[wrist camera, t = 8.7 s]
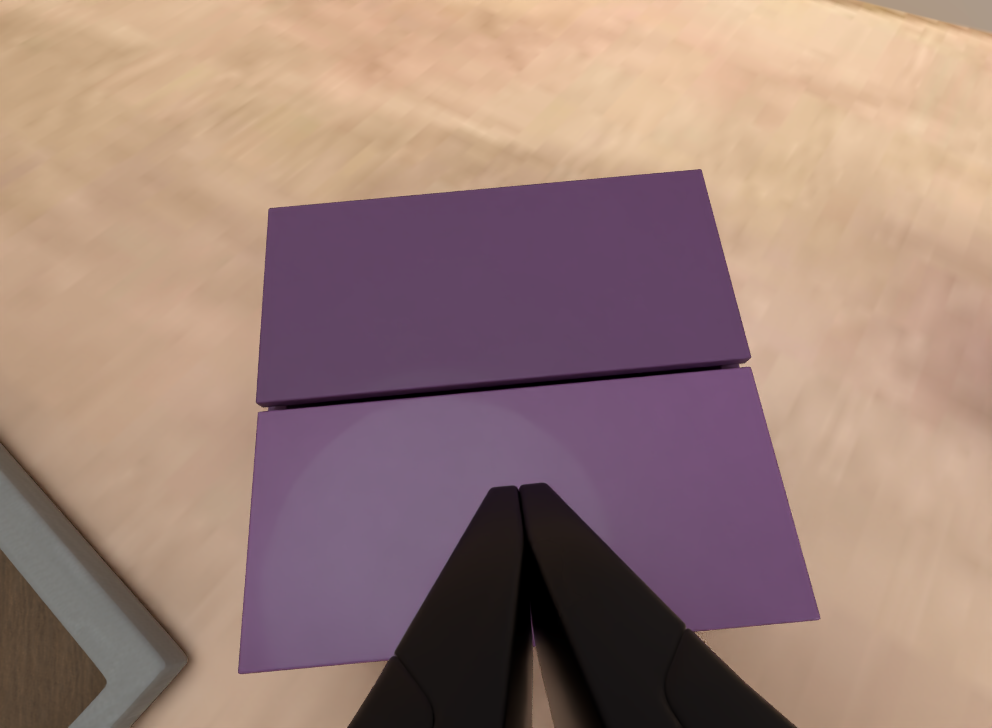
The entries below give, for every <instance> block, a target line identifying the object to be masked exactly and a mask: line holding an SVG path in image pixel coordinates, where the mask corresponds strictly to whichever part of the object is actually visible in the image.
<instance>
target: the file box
mask: <svg viewBox="0 0 992 728" xmlns="http://www.w3.org/2000/svg"><path fill="white" fill-rule="evenodd" d="M750 358H751V355H750V351H749V347H748V343H747V339H746V336H745V332H744V328H743V324H742V321H741V317H740V313H739V309H738V306H737V302H736V298H735V294H734V291H733V287H732V283H731V279H730V275H729V272H728V268H727V264H726V260H725V257H724V253H723V249H722V245H721V242H720V238H719V234H718V230H717V227H716V223H715V219H714V215H713V211H712V208H711V204H710V200H709V196H708V193H707V189H706V185H705V181H704V178H703V174H702V170H701V169H698V170H686V171H675V172H664V173H653V174H642V175H631V176H620V177H609V178H598V179H587V180H576V181H565V182H554V183H543V184H532V185H521V186H510V187H499V188H488V189H477V190H466V191H455V192H444V193H433V194H422V195H411V196H400V197H389V198H378V199H367V200H356V201H345V202H334V203H323V204H312V205H301V206H289V207H278V208H270V209H269V211H268V227H267V242H266V257H265V272H264V287H263V302H262V317H261V332H260V347H259V363H258V378H257V393H256V403H257V404H258V405H260V406H261V407H268V411H274V410H285V409H296V408H307V407H318V406H329V405H340V404H351V403H361V402H372V401H383V400H394V399H405V398H416V397H427V396H437V395H448V394H459V393H470V392H481V391H492V390H503V389H514V388H524V387H535V386H546V385H557V384H568V383H579V382H590V381H601V380H611V379H622V378H633V377H644V376H655V375H666V374H677V373H687V372H698V371H709V370H720V369H731V368H740V367H739V364H742V363H746V362H747V361H748V360H749V359H750Z"/></svg>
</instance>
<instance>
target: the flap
mask: <svg viewBox="0 0 992 728" xmlns="http://www.w3.org/2000/svg"><path fill="white" fill-rule="evenodd" d="M542 482H543V483H546V484H548V485H549V486H550V487H551V488H552V489H553V490H554V491H555V492H556V493H557V494H558V495H559V496H560V497H561V498H562V499H563V500H564V501H565V502H566V503H567V504H568V505H569V506H570V507H571V508H572V509H573V510H574V511H575V512H576V513H577V514H578V515H579V516H580V517H581V519H582V520H583V521H584V522H585V523H586V524H587V525H588V526H589V527H590V528H591V529H592V530H593V531H594V532H595V533H596V534H597V535H598V536H599V537H600V538H601V539H602V540H603V541H604V542H605V543H606V544H607V545H608V546H609V547H610V548H611V549H612V550H613V551H614V552H615V553H616V554H617V555H618V556H619V557H620V558H621V559H622V560H623V561H624V562H625V563H626V564H627V565H628V566H629V567H630V568H631V569H632V570H633V571H634V572H635V573H636V574H637V575H638V576H639V577H640V578H641V579H642V580H643V581H644V582H645V583H646V584H647V585H648V586H649V587H650V588H651V589H652V591H653V592H654V593H655V594H656V595H657V596H658V597H659V598H660V599H661V600H662V601H663V602H664V603H665V604H666V605H667V606H668V607H669V608H670V609H671V610H672V611H673V612H674V613H675V614H676V615H677V616H678V617H679V618H680V619H681V620H682V621H683V622H684V623H685V624H686V629H687V628H690V629H691V630H692V631H693V632H696V631H707V630H718V629H729V628H739V627H750V626H761V625H771V624H782V623H793V622H803V621H814V620H819V619H820V615H819V611H818V608H817V604H816V600H815V597H814V593H813V590H812V586H811V582H810V579H809V575H808V572H807V568H806V564H805V561H804V557H803V554H802V550H801V546H800V543H799V539H798V536H797V532H796V528H795V525H794V521H793V518H792V514H791V510H790V507H789V503H788V500H787V496H786V492H785V489H784V485H783V482H782V478H781V474H780V471H779V467H778V464H777V460H776V456H775V453H774V449H773V446H772V442H771V438H770V435H769V431H768V428H767V424H766V420H765V417H764V413H763V410H762V406H761V402H760V399H759V395H758V392H757V388H756V384H755V381H754V377H753V374H752V370H751V367H742V368H731V369H720V370H709V371H698V372H687V373H677V374H666V375H655V376H644V377H633V378H622V379H611V380H601V381H590V382H579V383H568V384H557V385H546V386H535V387H524V388H514V389H503V390H492V391H481V392H470V393H459V394H448V395H437V396H427V397H416V398H405V399H394V400H383V401H372V402H361V403H351V404H340V405H329V406H318V407H307V408H296V409H285V410H274V411H264V412H258V420H257V433H256V446H255V459H254V472H253V485H252V498H251V511H250V524H249V537H248V550H247V563H246V576H245V589H244V602H243V615H242V628H241V641H240V654H239V667H238V673H239V674H248V673H259V672H270V671H280V670H291V669H302V668H312V667H323V666H334V665H344V664H355V663H366V662H376V661H387V660H389V659H390V658H391V657H392V656H394V651H395V649H396V648H397V646H398V644H399V643H400V641H401V639H402V638H403V636H404V634H405V632H406V631H407V629H408V627H409V626H410V624H411V622H412V620H413V619H414V617H415V615H416V614H417V612H418V610H419V609H420V607H421V605H422V603H423V602H424V600H425V598H426V597H427V595H428V593H429V591H430V590H431V588H432V586H433V585H434V583H435V581H436V580H437V578H438V576H439V574H440V573H441V571H442V569H443V568H444V566H445V564H446V563H447V561H448V559H449V557H450V556H451V554H452V552H453V551H454V549H455V547H456V545H457V544H458V542H459V540H460V539H461V537H462V535H463V534H464V532H465V530H466V528H467V527H468V525H469V523H470V522H471V520H472V518H473V516H474V515H475V513H476V511H477V510H478V508H479V506H480V505H481V503H482V501H483V499H484V498H485V496H486V494H487V493H488V491H489V489H491V488H492V487H499V486H510V485H515V486H517V488H518V490H519V487H520V486H521V485H523V484H531V483H542ZM531 623H532V619H531ZM532 636H533V647H536V646H535V641H534V634H533V627H532Z"/></svg>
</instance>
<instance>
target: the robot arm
mask: <svg viewBox="0 0 992 728" xmlns="http://www.w3.org/2000/svg"><path fill="white" fill-rule="evenodd" d="M531 619H532V623H531ZM532 627H533V634H534V641H535V646H536V651H537V656H538V660H539V664H540V668H541V673H542V677H543V681H544V685H545V690H546V694H547V698H548V702H549V707H550V711H551V715H552V719H553V724H554V728H797V727H796V726H795V725H794V724H792V723H791V722H790V721H789V720H788V719H787V718H785V717H784V716H783V715H782V714H781V713H780V712H779V711H777V710H776V709H775V708H774V707H773V706H772V705H770V704H769V703H768V702H767V701H766V700H765V699H764V698H762V697H761V696H760V695H759V694H758V693H757V692H756V691H754V690H753V689H752V688H751V687H750V686H749V685H748V684H746V683H745V682H744V681H743V680H742V679H741V678H740V677H739V676H738V675H737V674H736V673H735V672H734V671H733V670H732V669H731V668H730V667H729V666H728V665H727V664H725V663H724V662H723V661H722V660H721V659H720V658H719V657H718V656H717V655H716V654H715V653H714V652H713V651H712V650H711V649H710V648H709V647H708V646H707V645H706V644H705V643H704V642H703V641H702V640H701V639H700V638H699V637H698V636H697V635H696V634H695V633H694V632H693V631H692V630H691V629H690V628H687V629H686V624H685V623H684V622H683V621H682V620H681V619H680V618H679V617H678V616H677V615H676V614H675V613H674V612H673V611H672V610H671V609H670V608H669V607H668V606H667V605H666V604H665V603H664V602H663V601H662V600H661V599H660V598H659V597H658V596H657V595H656V594H655V593H654V592H653V591H652V589H651V588H650V587H649V586H648V585H647V584H646V583H645V582H644V581H643V580H642V579H641V578H640V577H639V576H638V575H637V574H636V573H635V572H634V571H633V570H632V569H631V568H630V567H629V566H628V565H627V564H626V563H625V562H624V561H623V560H622V559H621V558H620V557H619V556H618V555H617V554H616V553H615V552H614V551H613V550H612V549H611V548H610V547H609V546H608V545H607V544H606V543H605V542H604V541H603V540H602V539H601V538H600V537H599V536H598V535H597V534H596V533H595V532H594V531H593V530H592V529H591V528H590V527H589V526H588V525H587V524H586V523H585V522H584V521H583V520H582V519H581V517H580V516H579V515H578V514H577V513H576V512H575V511H574V510H573V509H572V508H571V507H570V506H569V505H568V504H567V503H566V502H565V501H564V500H563V499H562V498H561V497H560V496H559V495H558V494H557V493H556V492H555V491H554V490H553V489H552V488H551V487H550V486H549V485H548V484H546V483H543V482H542V483H531V484H523V485H521V486H520V487H519V490H518V488H517V486H515V485H510V486H499V487H492V488H491V489H489V491H488V493H487V494H486V496H485V498H484V499H483V501H482V503H481V505H480V506H479V508H478V510H477V511H476V513H475V515H474V516H473V518H472V520H471V522H470V523H469V525H468V527H467V528H466V530H465V532H464V534H463V535H462V537H461V539H460V540H459V542H458V544H457V545H456V547H455V549H454V551H453V552H452V554H451V556H450V557H449V559H448V561H447V563H446V564H445V566H444V568H443V569H442V571H441V573H440V574H439V576H438V578H437V580H436V581H435V583H434V585H433V586H432V588H431V590H430V591H429V593H428V595H427V597H426V598H425V600H424V602H423V603H422V605H421V607H420V609H419V610H418V612H417V614H416V615H415V617H414V619H413V620H412V622H411V624H410V626H409V627H408V629H407V631H406V632H405V634H404V636H403V638H402V639H401V641H400V643H399V644H398V646H397V648H396V649H395V651H394V656H392V657H391V658H390V659H389V661H388V662H387V664H386V666H385V668H384V669H383V671H382V673H381V675H380V676H379V678H378V680H377V681H376V683H375V685H374V686H373V688H372V689H371V691H370V693H369V694H368V696H367V697H366V699H365V701H364V702H363V704H362V705H361V707H360V709H359V710H358V712H357V713H356V715H355V716H354V718H353V720H352V721H351V723H350V724H349V726H348V727H347V728H532V698H533V636H532Z"/></svg>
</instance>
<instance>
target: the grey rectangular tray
mask: <svg viewBox="0 0 992 728" xmlns="http://www.w3.org/2000/svg"><path fill="white" fill-rule="evenodd" d="M187 661H188V658H187V656H186V655H185V653H184V652H183V651H182V650H181V648H180V647H179V646H178V645H177V644H176V642H175V641H174V640H173V639H172V638H171V637H170V636H169V634H168V633H167V632H166V631H165V630H164V629H163V628H162V627H161V625H160V624H159V623H158V622H157V621H156V620H155V619H154V617H153V616H152V615H151V614H150V613H149V612H148V611H147V609H146V608H145V607H144V606H143V605H142V604H141V603H140V601H139V600H138V599H137V598H136V597H135V596H134V595H133V593H132V592H131V591H130V590H129V589H128V588H127V587H126V585H125V584H124V583H123V582H122V581H121V580H120V579H119V578H118V576H117V575H116V574H115V573H114V572H113V571H112V570H111V568H110V567H109V566H108V565H107V564H106V563H105V562H104V560H103V559H102V558H101V557H100V556H99V555H98V554H97V552H96V551H95V550H94V549H93V548H92V547H91V546H90V544H89V543H88V542H87V541H86V540H85V539H84V538H83V536H82V535H81V534H80V533H79V532H78V531H77V530H76V529H75V527H74V526H73V525H72V524H71V523H70V522H69V521H68V519H67V518H66V517H65V516H64V515H63V514H62V513H61V511H60V510H59V509H58V508H57V507H56V506H55V505H54V503H53V502H52V501H51V500H50V499H49V498H48V497H47V495H46V494H45V493H44V492H43V491H42V490H41V489H40V487H39V486H38V485H37V484H36V483H35V482H34V481H33V480H32V478H31V477H30V476H29V475H28V474H27V473H26V472H25V470H24V469H23V468H22V467H21V466H20V465H19V464H18V462H17V461H16V460H15V459H14V458H13V457H12V456H11V454H10V453H9V452H8V451H7V450H6V449H5V448H4V446H3V445H2V444H1V443H0V728H130V726H131V725H132V724H133V723H134V722H135V721H136V720H137V719H138V718H139V717H140V715H141V714H142V713H143V712H144V711H145V710H146V709H147V708H148V707H149V705H150V704H151V703H152V702H153V701H154V700H155V699H156V698H157V697H158V696H159V694H160V693H161V692H162V691H163V690H164V689H165V688H166V687H167V686H168V684H169V683H170V682H171V681H172V680H173V679H174V678H175V677H176V675H177V674H178V673H179V672H180V671H181V670H182V668H183V667H184V666H185V665H186V663H187Z"/></svg>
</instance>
